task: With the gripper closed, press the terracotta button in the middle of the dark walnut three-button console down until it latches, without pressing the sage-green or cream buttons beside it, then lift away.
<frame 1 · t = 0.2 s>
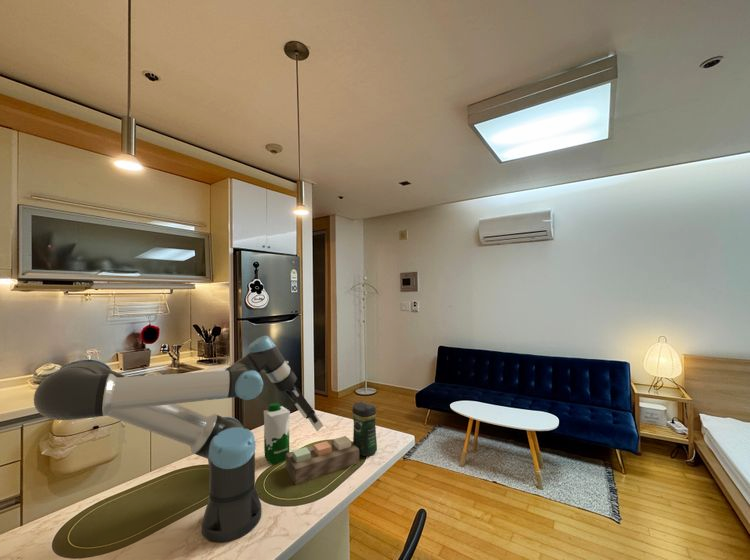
hand: (313, 421, 115), 16 cm above the table, tool tilted 30°, fingers open, 13 cm apart
sage button: (301, 456, 111), point 5 cm above the table, slide at 0.0 cm
terracotta button: (322, 450, 116), point 5 cm above the table, slide at 0.0 cm
milk carton: (277, 459, 121), on the table
coffee jar: (365, 451, 125), on the table
button console: (322, 465, 115), on the table
cream button: (342, 444, 120), point 5 cm above the table, slide at 0.0 cm
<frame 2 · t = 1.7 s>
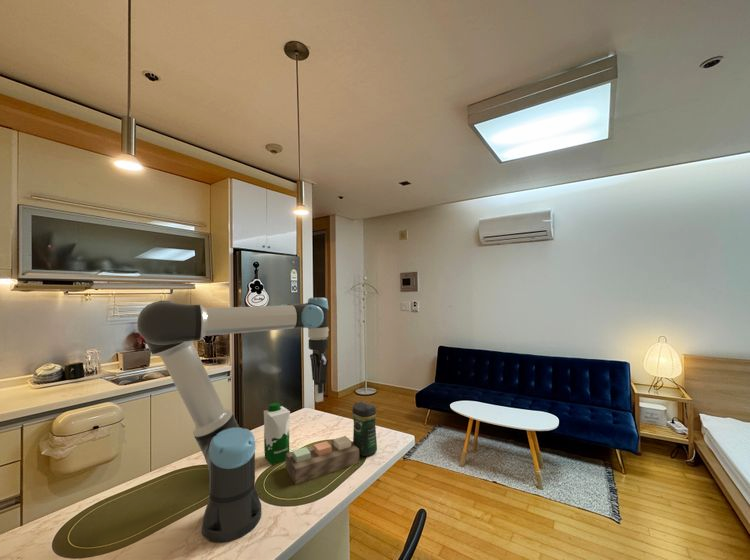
hand: (319, 400, 119), 22 cm above the table, tool pointing down, fingers closed
nothing on the table moved.
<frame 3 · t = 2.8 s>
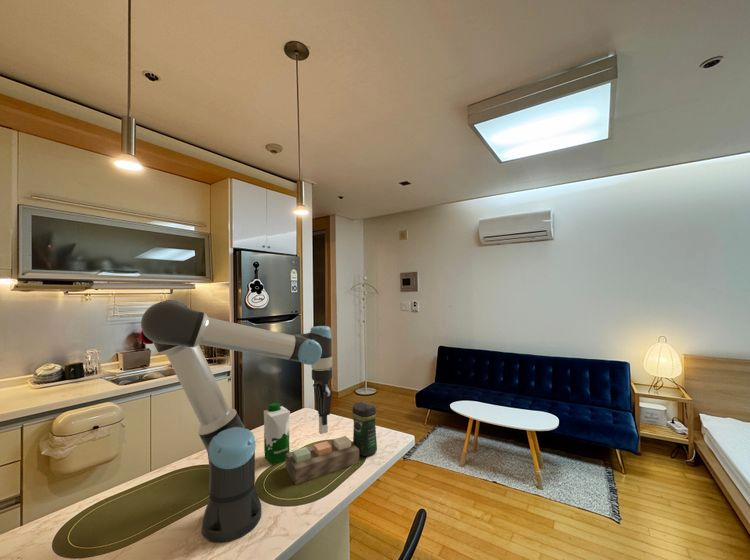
hand: (323, 432, 116), 12 cm above the table, tool pointing down, fingers closed
nothing on the table moved.
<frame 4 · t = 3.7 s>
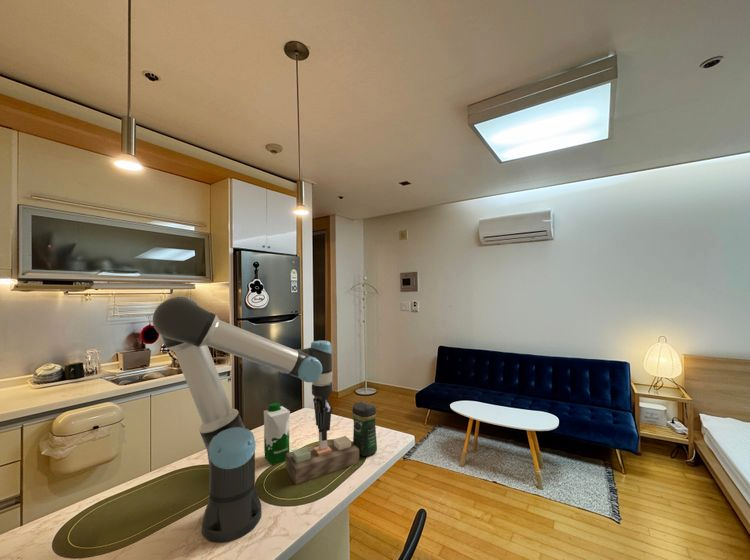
hand: (323, 447, 116), 6 cm above the table, tool pointing down, fingers closed
terracotta button: (322, 453, 116), point 4 cm above the table, slide at 1.1 cm, touching gripper
everything else where it was.
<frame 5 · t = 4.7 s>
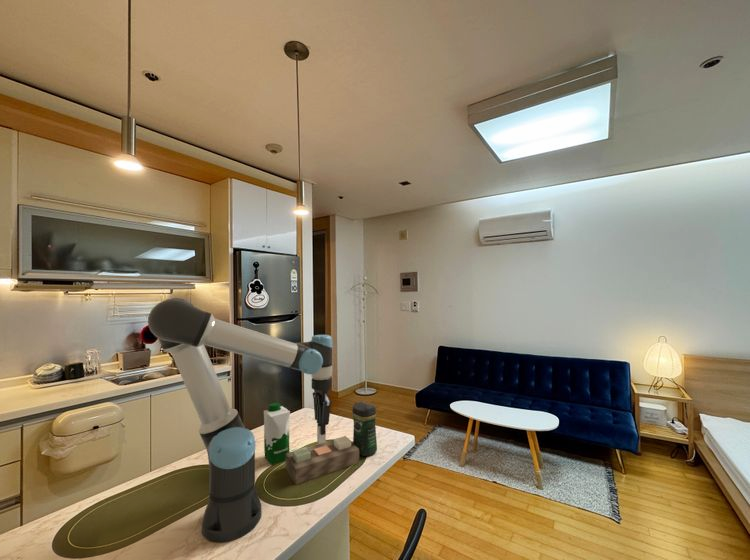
hand: (321, 442, 116), 8 cm above the table, tool pointing down, fingers closed
terracotta button: (322, 454, 116), point 4 cm above the table, slide at 1.6 cm
everything else where it was.
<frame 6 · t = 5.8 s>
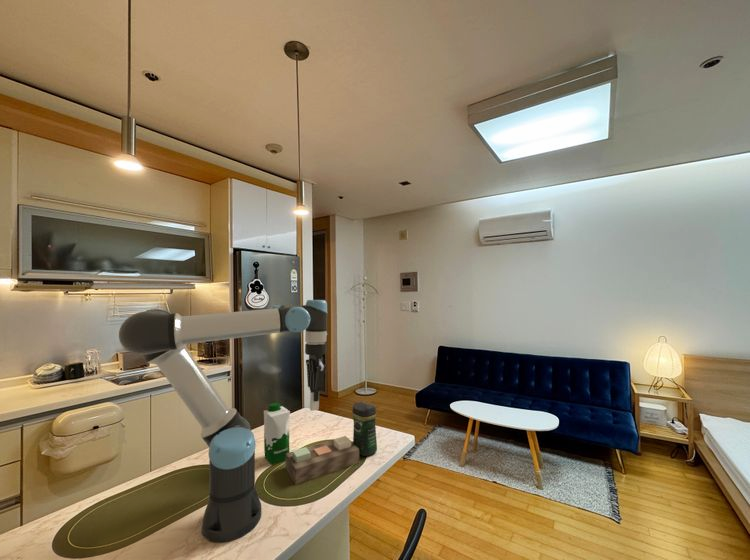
hand: (314, 409, 112), 22 cm above the table, tool pointing down, fingers closed
nothing on the table moved.
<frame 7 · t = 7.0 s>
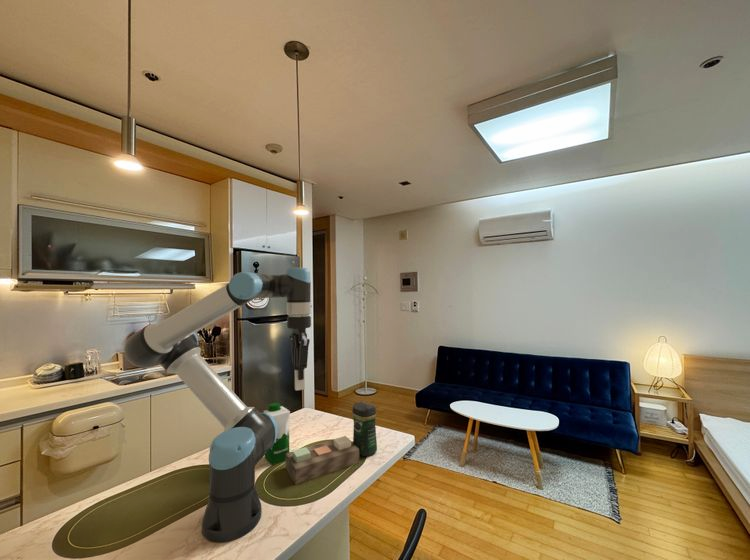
hand: (299, 389, 101), 32 cm above the table, tool pointing down, fingers closed
nothing on the table moved.
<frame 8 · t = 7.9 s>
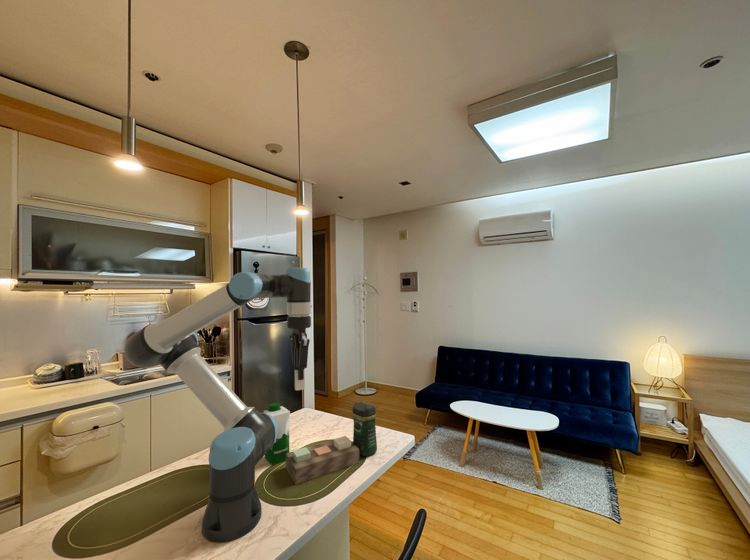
hand: (299, 389, 101), 32 cm above the table, tool pointing down, fingers closed
nothing on the table moved.
at the end: terracotta button slide at 1.6 cm; sage button slide at 0.0 cm; cream button slide at 0.0 cm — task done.
